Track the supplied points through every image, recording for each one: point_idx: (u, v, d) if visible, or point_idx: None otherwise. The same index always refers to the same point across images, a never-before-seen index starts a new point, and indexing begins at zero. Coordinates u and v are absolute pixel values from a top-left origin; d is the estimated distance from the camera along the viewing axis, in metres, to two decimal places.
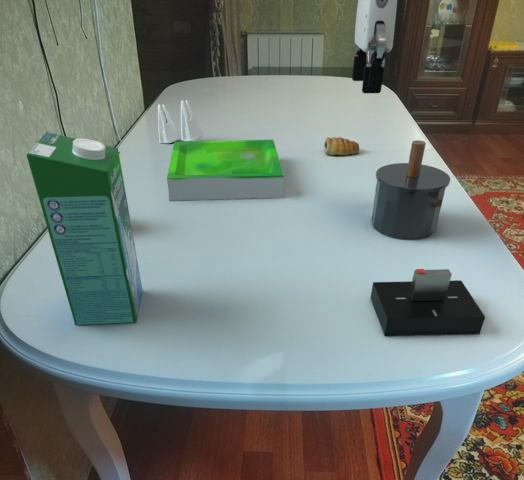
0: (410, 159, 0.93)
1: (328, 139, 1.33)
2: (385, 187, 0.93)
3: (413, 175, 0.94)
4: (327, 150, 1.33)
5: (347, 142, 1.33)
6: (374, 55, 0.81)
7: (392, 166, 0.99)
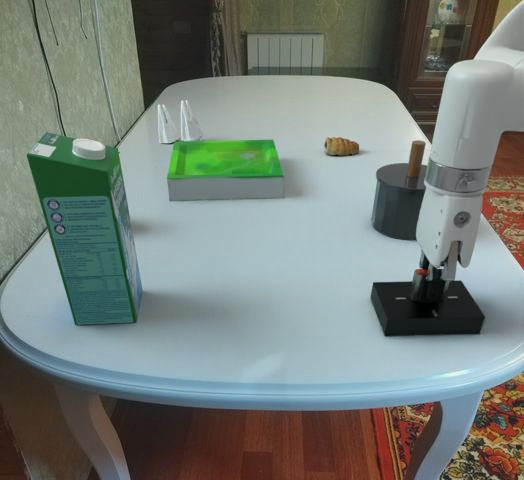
0: (410, 159, 0.93)
1: (328, 139, 1.33)
2: (385, 187, 0.93)
3: (413, 175, 0.94)
4: (327, 150, 1.33)
5: (347, 142, 1.33)
6: (438, 275, 0.68)
7: (392, 166, 0.99)
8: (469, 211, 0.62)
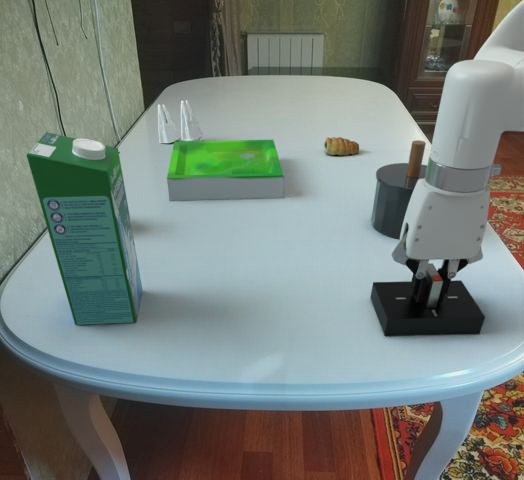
0: (410, 159, 0.93)
1: (328, 139, 1.33)
2: (385, 187, 0.93)
3: (413, 175, 0.94)
4: (327, 150, 1.33)
5: (347, 142, 1.33)
6: (466, 263, 0.71)
7: (392, 166, 0.99)
8: None
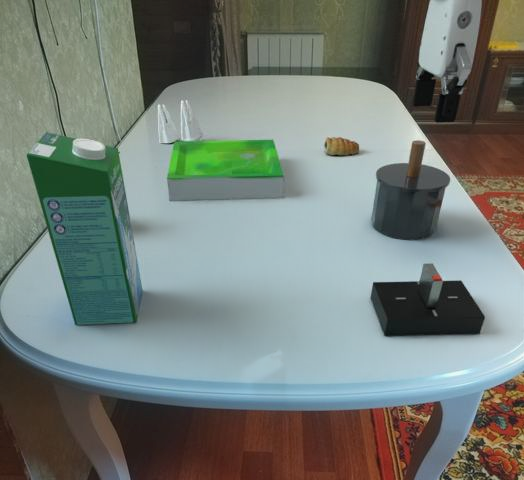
0: (410, 159, 0.93)
1: (328, 139, 1.33)
2: (385, 187, 0.93)
3: (413, 175, 0.94)
4: (327, 150, 1.33)
5: (347, 142, 1.33)
6: (455, 82, 0.72)
7: (392, 166, 0.99)
8: (471, 11, 0.69)
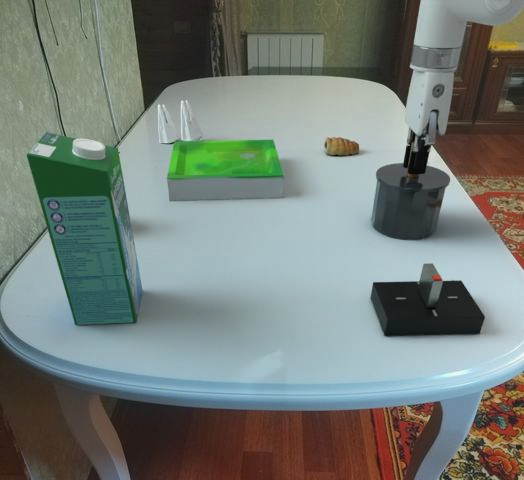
0: None
1: (328, 139, 1.33)
2: (385, 187, 0.93)
3: (413, 175, 0.94)
4: (327, 150, 1.33)
5: (347, 142, 1.33)
6: (422, 144, 0.87)
7: (392, 166, 0.99)
8: (443, 83, 0.81)
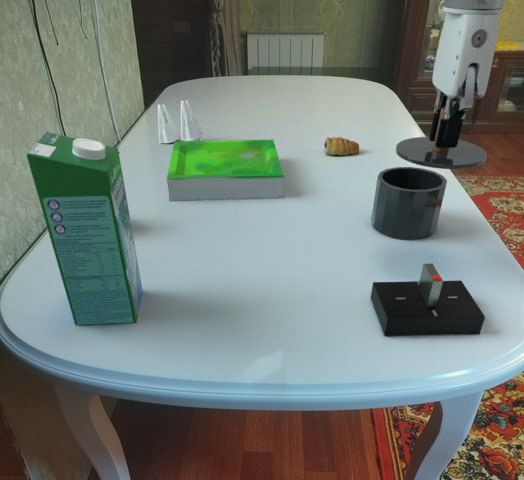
0: None
1: (328, 139, 1.33)
2: (385, 187, 0.93)
3: (442, 149, 0.77)
4: (327, 150, 1.33)
5: (347, 142, 1.33)
6: (456, 108, 0.71)
7: (415, 140, 0.82)
8: (486, 29, 0.64)
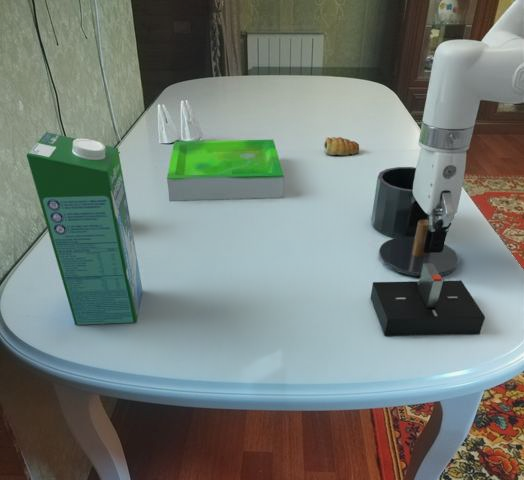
0: (416, 239, 0.87)
1: (328, 139, 1.33)
2: (385, 187, 0.93)
3: (419, 255, 0.88)
4: (327, 150, 1.33)
5: (347, 142, 1.33)
6: (440, 224, 0.78)
7: (396, 241, 0.93)
8: (455, 165, 0.75)
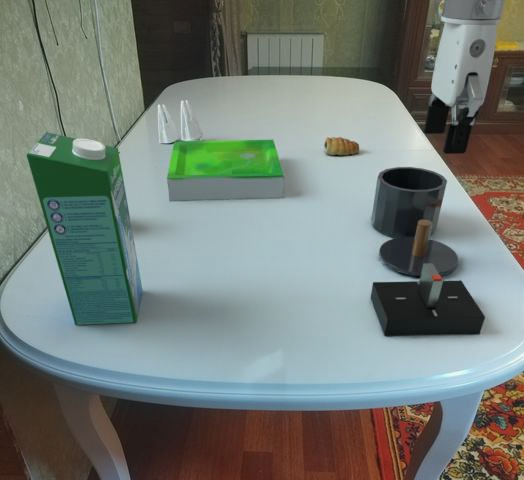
0: (416, 239, 0.87)
1: (328, 139, 1.33)
2: (385, 187, 0.93)
3: (419, 255, 0.88)
4: (327, 150, 1.33)
5: (347, 142, 1.33)
6: (465, 113, 0.68)
7: (396, 241, 0.93)
8: (484, 39, 0.65)
